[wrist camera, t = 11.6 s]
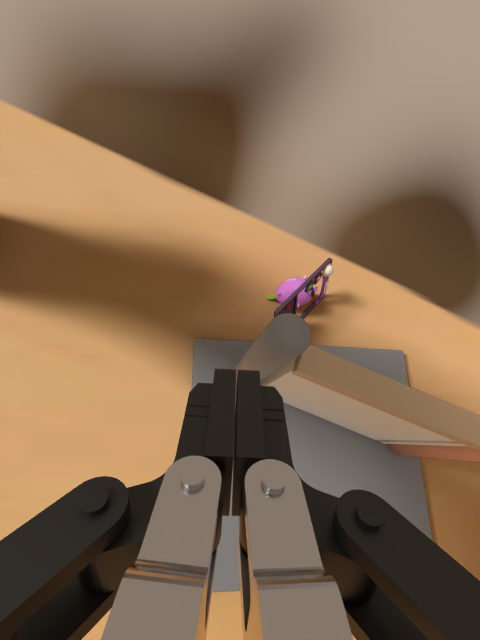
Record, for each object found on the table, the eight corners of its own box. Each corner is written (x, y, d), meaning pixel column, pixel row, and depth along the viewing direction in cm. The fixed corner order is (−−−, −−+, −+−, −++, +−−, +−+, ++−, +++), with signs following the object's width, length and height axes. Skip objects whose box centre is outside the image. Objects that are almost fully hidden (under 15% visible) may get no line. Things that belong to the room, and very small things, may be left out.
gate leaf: (255, 393, 33) (297, 370, 22) (261, 375, 34) (305, 343, 22) (383, 446, 34) (492, 451, 22) (387, 426, 35) (494, 421, 23)
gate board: (179, 589, 28) (180, 780, 13) (194, 340, 36) (206, 264, 20) (431, 574, 32) (674, 707, 16) (398, 352, 40) (544, 296, 24)
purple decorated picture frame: (283, 317, 31) (339, 261, 34) (242, 289, 33) (298, 239, 36) (281, 350, 37) (329, 300, 40) (246, 324, 39) (294, 278, 42)
